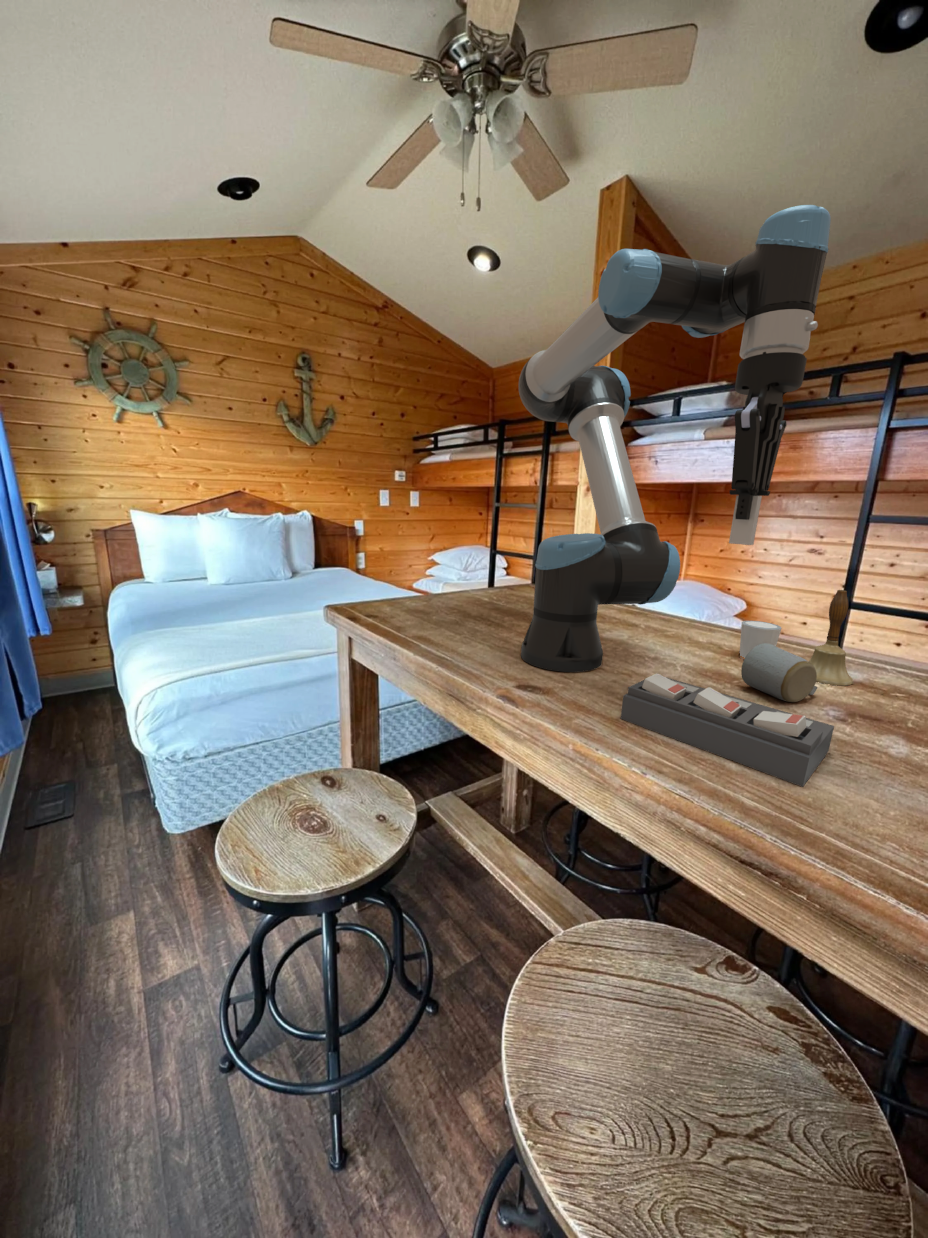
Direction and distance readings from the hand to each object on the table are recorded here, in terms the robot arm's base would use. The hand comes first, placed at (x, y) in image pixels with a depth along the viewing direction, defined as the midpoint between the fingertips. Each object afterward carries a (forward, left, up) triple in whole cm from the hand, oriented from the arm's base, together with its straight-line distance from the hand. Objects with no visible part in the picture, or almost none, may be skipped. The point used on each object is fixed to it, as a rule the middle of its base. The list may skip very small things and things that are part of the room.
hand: (741, 543), depth 69 cm
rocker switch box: (+4, -9, -24) cm, 26 cm away
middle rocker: (+4, -12, -19) cm, 23 cm away
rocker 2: (+11, -12, -19) cm, 25 cm away
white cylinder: (-4, +32, -25) cm, 41 cm away
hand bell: (+8, +30, -25) cm, 40 cm away
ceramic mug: (+5, +14, -25) cm, 29 cm away
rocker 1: (-3, -12, -19) cm, 23 cm away
